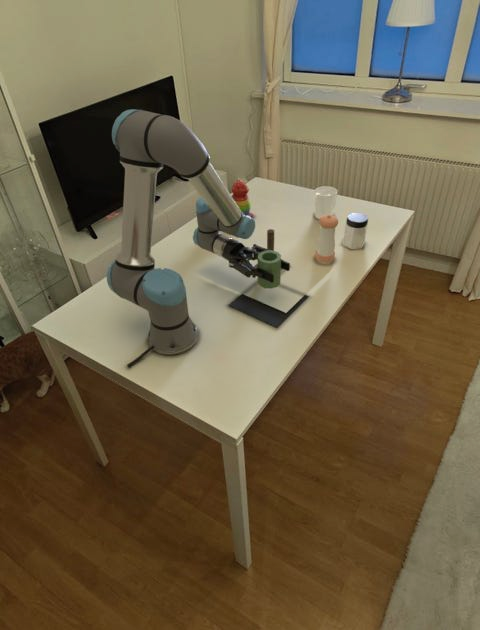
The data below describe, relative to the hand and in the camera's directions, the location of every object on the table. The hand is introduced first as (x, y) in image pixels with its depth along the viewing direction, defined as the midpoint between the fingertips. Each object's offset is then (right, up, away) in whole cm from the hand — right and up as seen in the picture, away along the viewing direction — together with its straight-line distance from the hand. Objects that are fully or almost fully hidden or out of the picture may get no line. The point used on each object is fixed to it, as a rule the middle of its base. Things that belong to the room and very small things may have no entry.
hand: (281, 272), depth 138 cm
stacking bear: (-13, +30, +58) cm, 66 cm away
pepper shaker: (+20, +8, +31) cm, 37 cm away
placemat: (-3, -9, +12) cm, 15 cm away
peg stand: (-2, +4, +27) cm, 27 cm away
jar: (+33, +15, +39) cm, 53 cm away
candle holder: (+25, +32, +58) cm, 71 cm away
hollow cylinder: (-3, -2, +6) cm, 8 cm away
